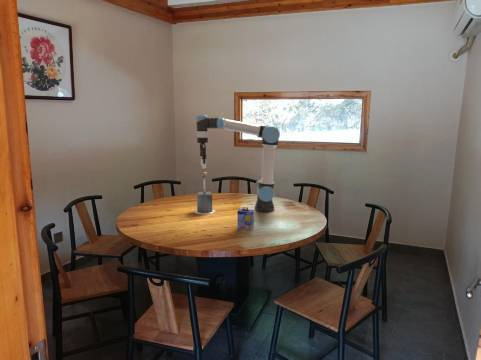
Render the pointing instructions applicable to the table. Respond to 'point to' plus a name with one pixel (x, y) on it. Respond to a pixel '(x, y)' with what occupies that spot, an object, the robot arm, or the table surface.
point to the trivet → (204, 213)
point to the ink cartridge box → (245, 219)
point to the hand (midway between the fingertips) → (203, 166)
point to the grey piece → (204, 202)
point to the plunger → (204, 174)
